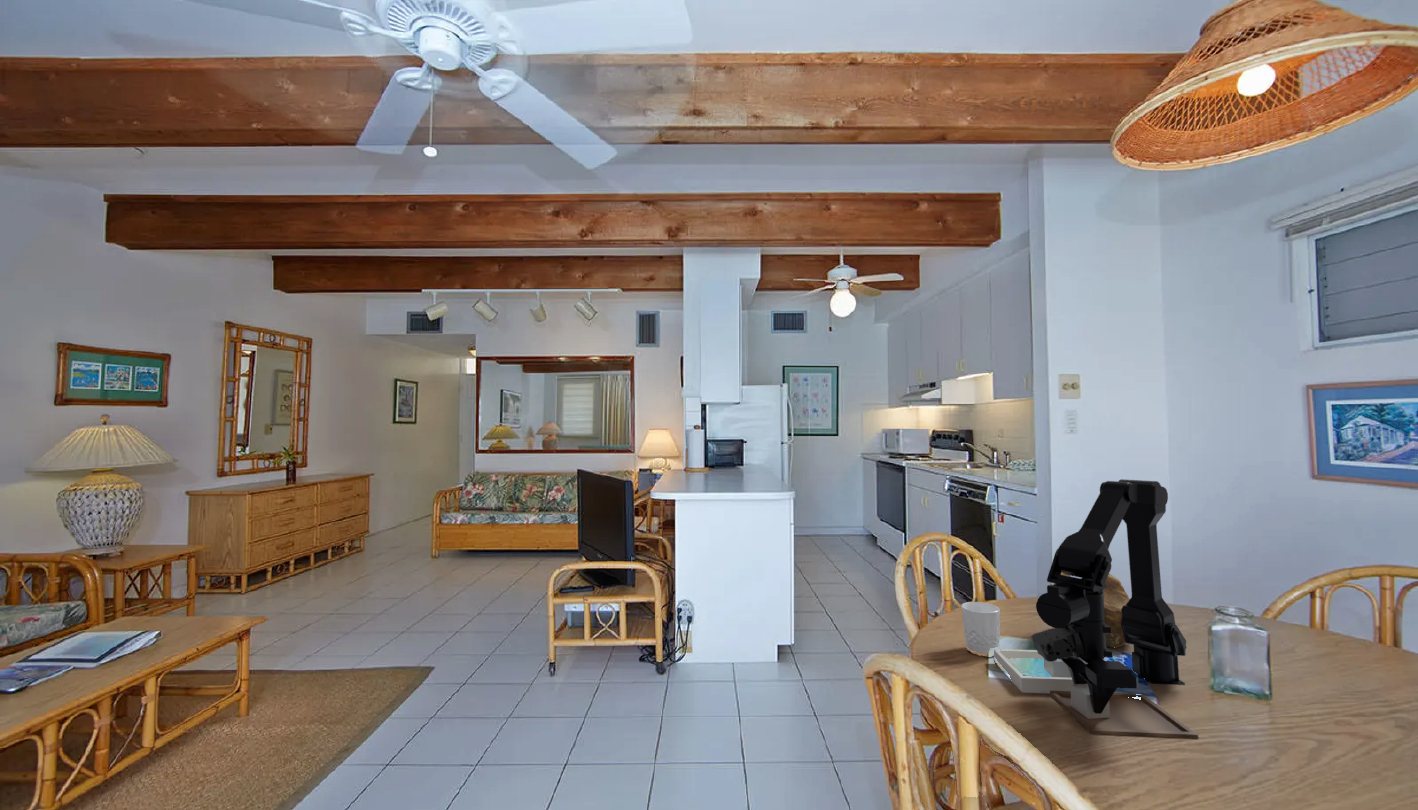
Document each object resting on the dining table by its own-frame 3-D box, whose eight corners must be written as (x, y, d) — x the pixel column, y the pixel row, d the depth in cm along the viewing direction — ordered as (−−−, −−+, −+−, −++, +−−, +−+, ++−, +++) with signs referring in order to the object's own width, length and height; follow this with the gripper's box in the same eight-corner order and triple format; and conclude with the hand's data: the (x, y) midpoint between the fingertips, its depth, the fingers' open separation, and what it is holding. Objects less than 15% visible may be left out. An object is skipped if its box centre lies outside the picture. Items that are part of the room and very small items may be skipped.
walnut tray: (1142, 699, 103) (1142, 693, 103) (1198, 741, 89) (1198, 734, 89) (1050, 696, 105) (1050, 690, 105) (1091, 736, 91) (1090, 730, 91)
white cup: (998, 661, 121) (996, 614, 121) (959, 653, 126) (957, 608, 126) (1004, 649, 127) (1002, 605, 128) (967, 642, 132) (965, 599, 132)
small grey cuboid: (1093, 706, 100) (1091, 683, 100) (1110, 717, 96) (1108, 693, 96) (1071, 707, 100) (1070, 684, 100) (1087, 718, 96) (1086, 695, 96)
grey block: (1065, 673, 113) (1064, 653, 113) (1075, 682, 109) (1074, 662, 109) (1044, 673, 114) (1043, 653, 114) (1053, 681, 110) (1052, 661, 110)
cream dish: (1063, 666, 118) (1063, 650, 118) (1101, 697, 104) (1100, 680, 104) (994, 664, 120) (993, 649, 120) (1022, 695, 106) (1021, 677, 106)
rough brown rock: (1104, 664, 120) (1108, 595, 120) (1032, 632, 136) (1035, 572, 135) (1165, 648, 130) (1169, 584, 130) (1092, 620, 145) (1095, 563, 145)
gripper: (1014, 599, 109) (1019, 681, 108) (1062, 634, 90) (1068, 733, 90) (1076, 600, 107) (1080, 682, 107) (1137, 636, 89) (1143, 736, 88)
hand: (1090, 706), depth 98 cm, fingers closed on small grey cuboid, 4 cm apart
